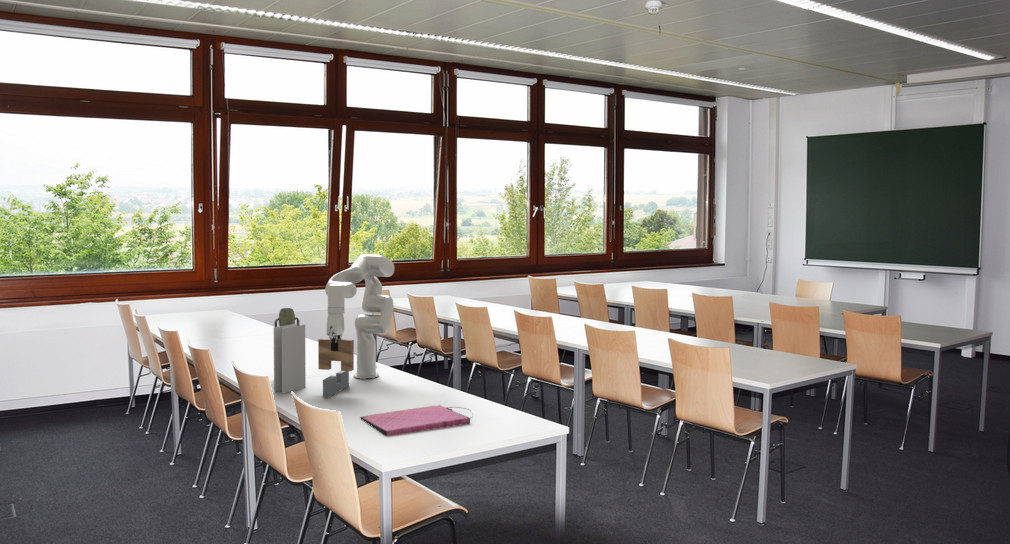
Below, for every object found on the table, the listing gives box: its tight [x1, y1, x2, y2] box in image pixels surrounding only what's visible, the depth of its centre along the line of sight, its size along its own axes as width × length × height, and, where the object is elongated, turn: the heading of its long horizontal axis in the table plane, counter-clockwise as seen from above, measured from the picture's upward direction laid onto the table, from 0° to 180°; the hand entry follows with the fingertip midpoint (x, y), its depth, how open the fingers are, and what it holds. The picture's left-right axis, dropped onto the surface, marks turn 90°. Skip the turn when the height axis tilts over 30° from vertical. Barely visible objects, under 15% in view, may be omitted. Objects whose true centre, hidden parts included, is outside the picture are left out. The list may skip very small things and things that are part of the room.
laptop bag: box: [360, 404, 474, 437], centre depth 302 cm, size 40×4×27 cm
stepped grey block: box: [322, 370, 350, 399], centre depth 348 cm, size 24×2×8 cm, turn 169°
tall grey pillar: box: [273, 323, 307, 394], centre depth 349 cm, size 14×6×30 cm, turn 149°
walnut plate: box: [317, 337, 355, 372], centre depth 346 cm, size 3×16×14 cm, turn 79°
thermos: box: [273, 307, 300, 327], centre depth 371 cm, size 9×12×35 cm
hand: (336, 349), depth 346 cm, fingers closed on walnut plate, 3 cm apart
